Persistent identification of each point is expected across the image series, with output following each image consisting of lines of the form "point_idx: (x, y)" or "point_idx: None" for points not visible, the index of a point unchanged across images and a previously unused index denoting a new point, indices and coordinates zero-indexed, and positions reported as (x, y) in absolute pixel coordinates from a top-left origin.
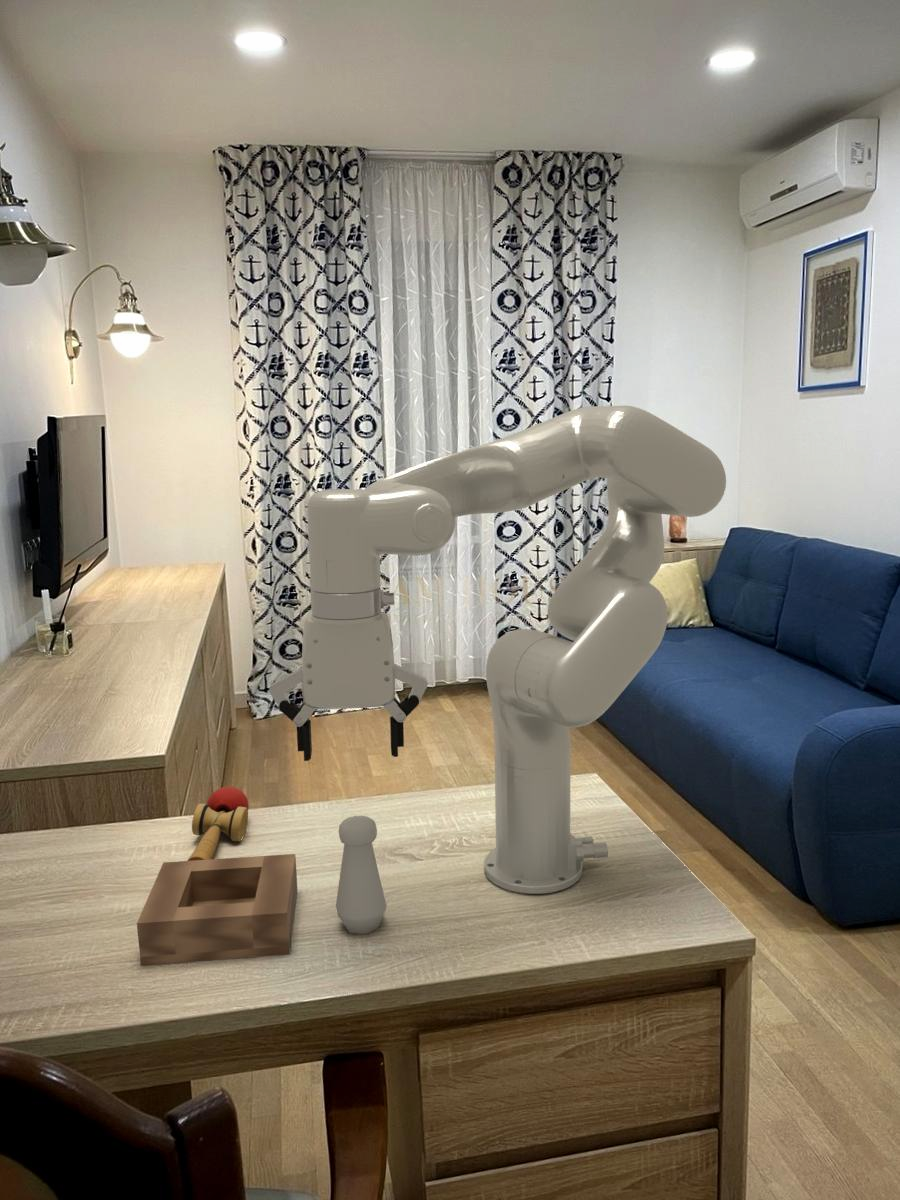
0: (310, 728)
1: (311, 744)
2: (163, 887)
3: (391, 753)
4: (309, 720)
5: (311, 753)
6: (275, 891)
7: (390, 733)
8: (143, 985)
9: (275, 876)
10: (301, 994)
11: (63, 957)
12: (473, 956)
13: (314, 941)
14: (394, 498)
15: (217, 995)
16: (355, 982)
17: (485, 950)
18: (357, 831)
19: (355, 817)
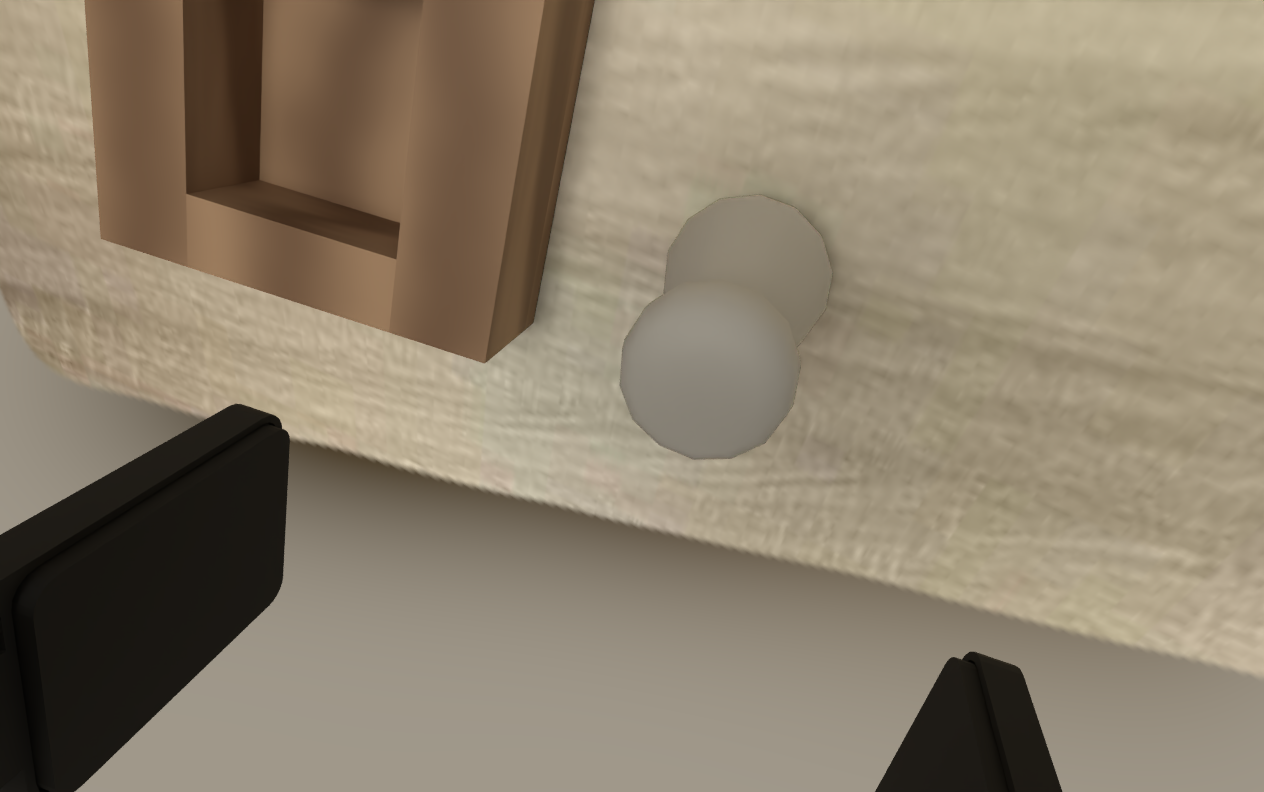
0: (110, 610)
1: (246, 467)
2: (119, 32)
3: (884, 785)
4: (25, 631)
5: (285, 480)
6: (460, 219)
7: (977, 765)
8: (219, 302)
9: (467, 105)
10: (540, 483)
11: (18, 99)
12: (981, 537)
13: (604, 290)
14: None
15: (372, 407)
16: (662, 498)
17: (1028, 529)
18: (682, 451)
19: (700, 357)
